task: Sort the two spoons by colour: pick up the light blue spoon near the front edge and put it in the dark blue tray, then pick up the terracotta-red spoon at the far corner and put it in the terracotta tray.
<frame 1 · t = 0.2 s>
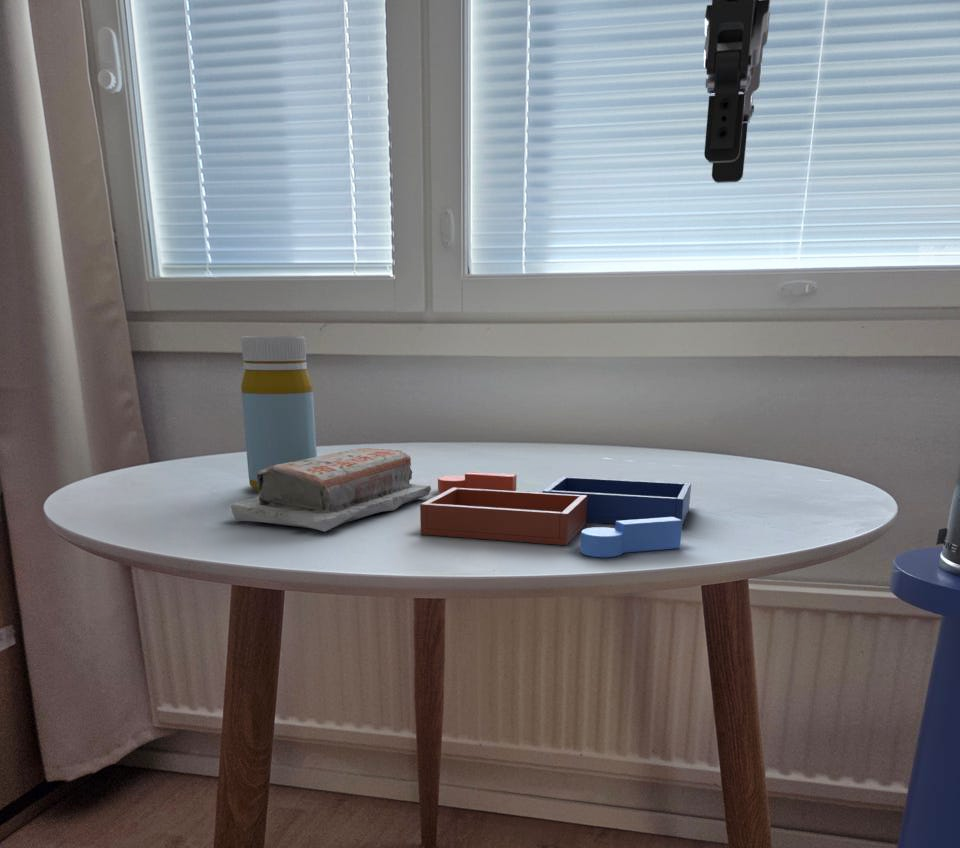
hand: (724, 172, 61), 26 cm above the table, tool pointing down, fingers open, 8 cm apart
packaged product: (337, 511, 81), on the table
bottle: (284, 490, 91), on the table
terracotta tray: (505, 529, 73), on the table
blue tray: (616, 514, 79), on the table
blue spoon: (629, 550, 67), on the table
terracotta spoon: (476, 495, 88), on the table
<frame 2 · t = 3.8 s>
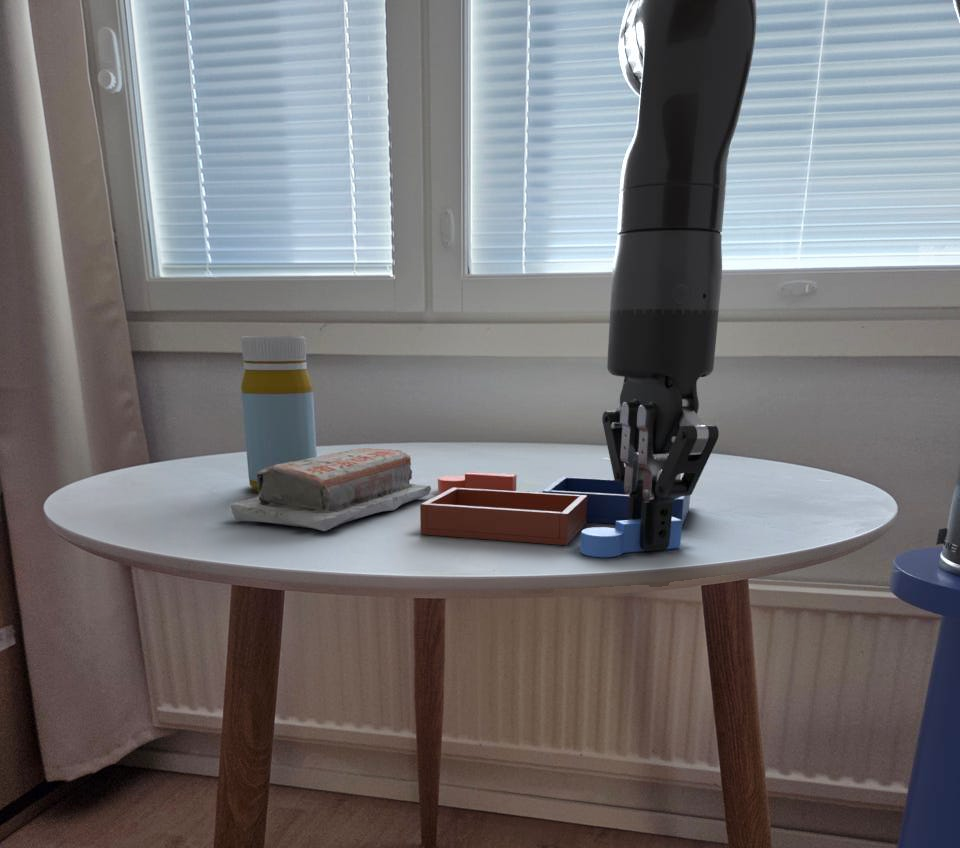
hand: (647, 545, 67), 0 cm above the table, tool pointing down, fingers closed on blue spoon, 1 cm apart
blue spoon: (629, 550, 67), on the table, touching gripper
everything else where it was.
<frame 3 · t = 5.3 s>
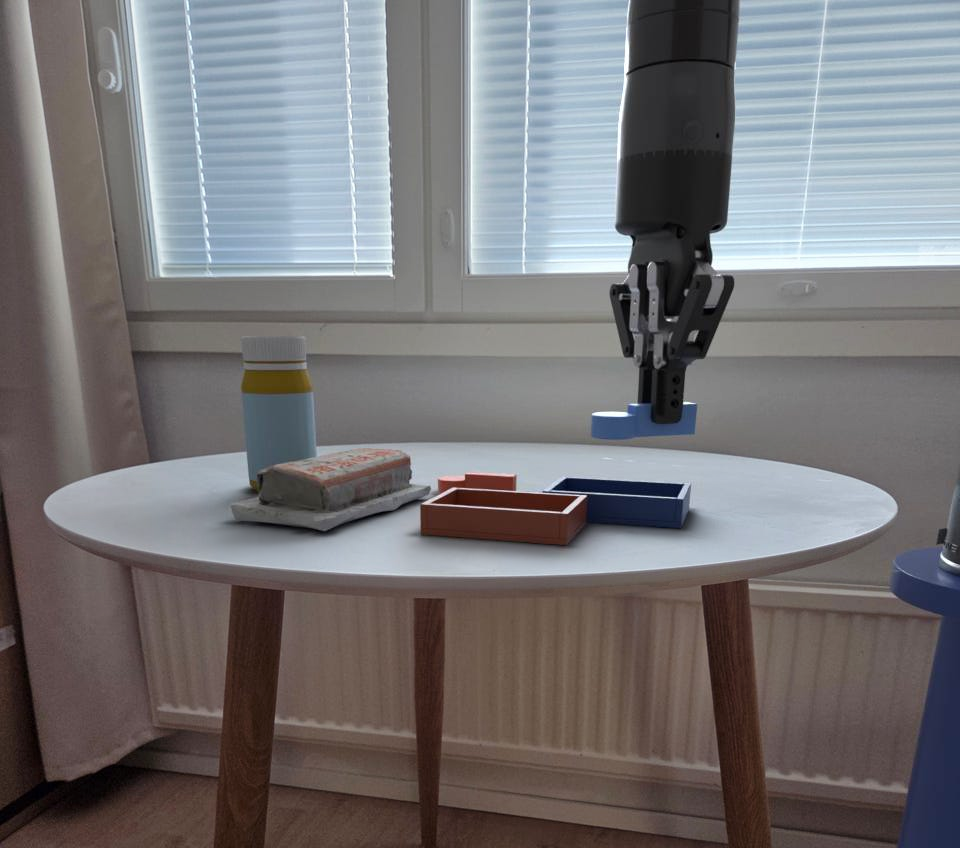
hand: (658, 421, 64), 10 cm above the table, tool pointing down, fingers closed on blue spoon, 1 cm apart
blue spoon: (642, 435, 64), point 9 cm above the table, touching gripper
everything else where it was.
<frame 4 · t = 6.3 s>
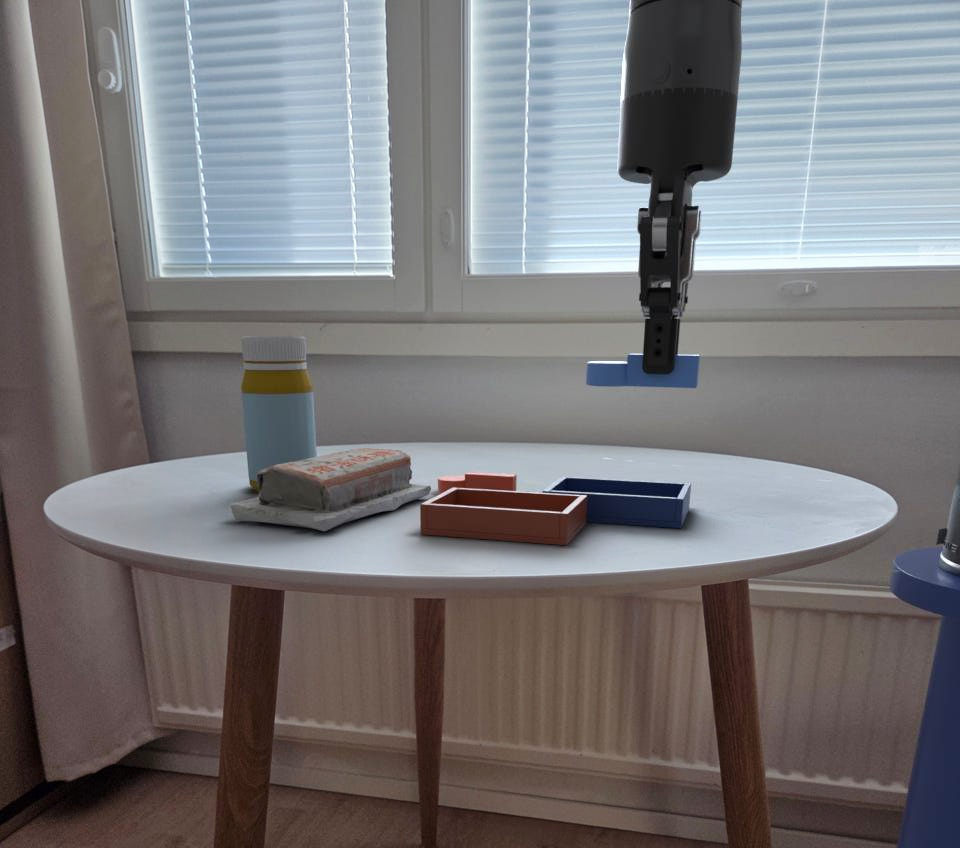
hand: (659, 372, 63), 13 cm above the table, tool pointing down, fingers closed on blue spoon, 1 cm apart
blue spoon: (640, 385, 64), point 12 cm above the table, touching gripper
everything else where it was.
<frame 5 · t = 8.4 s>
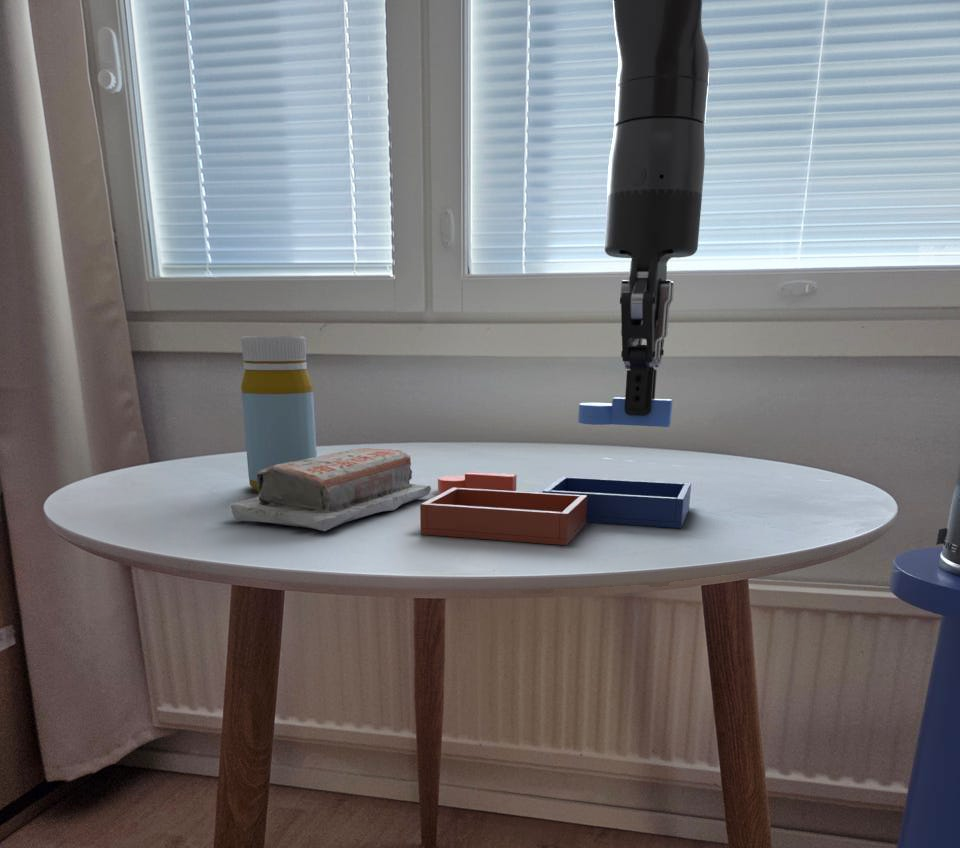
hand: (639, 413, 76), 9 cm above the table, tool pointing down, fingers closed on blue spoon, 1 cm apart
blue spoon: (623, 424, 76), point 8 cm above the table, touching gripper
everything else where it was.
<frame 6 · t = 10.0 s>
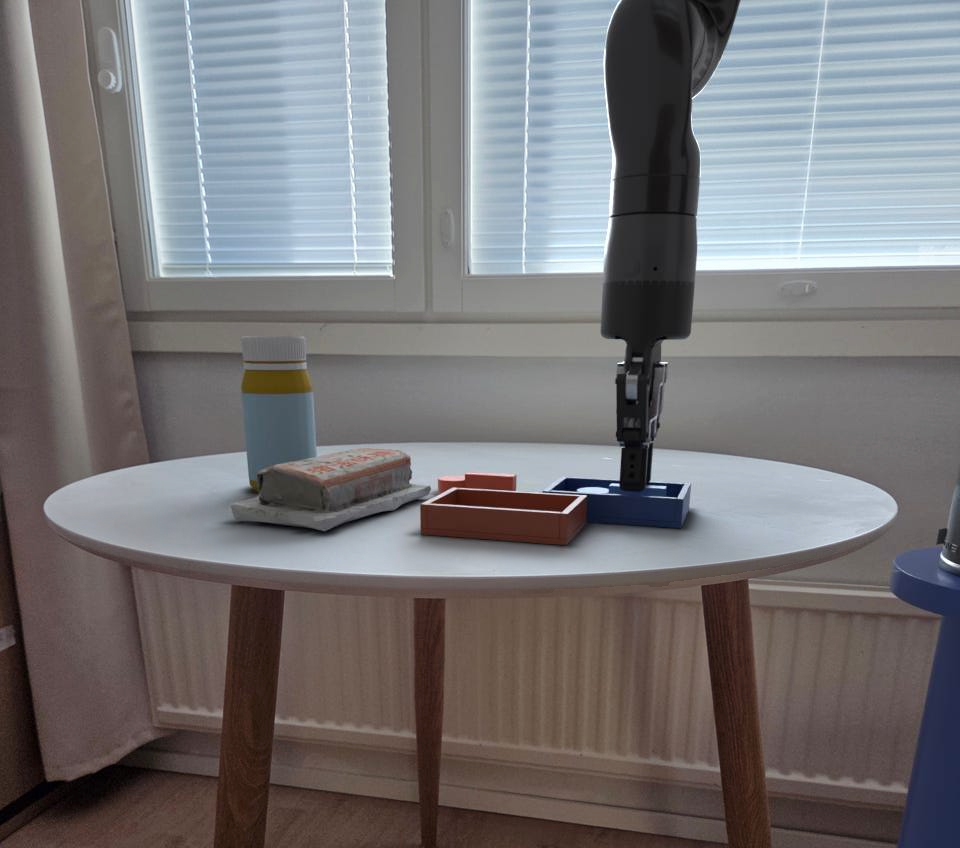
hand: (635, 486, 78), 3 cm above the table, tool pointing down, fingers open, 3 cm apart
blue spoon: (619, 509, 79), resting on blue tray
everything else where it was.
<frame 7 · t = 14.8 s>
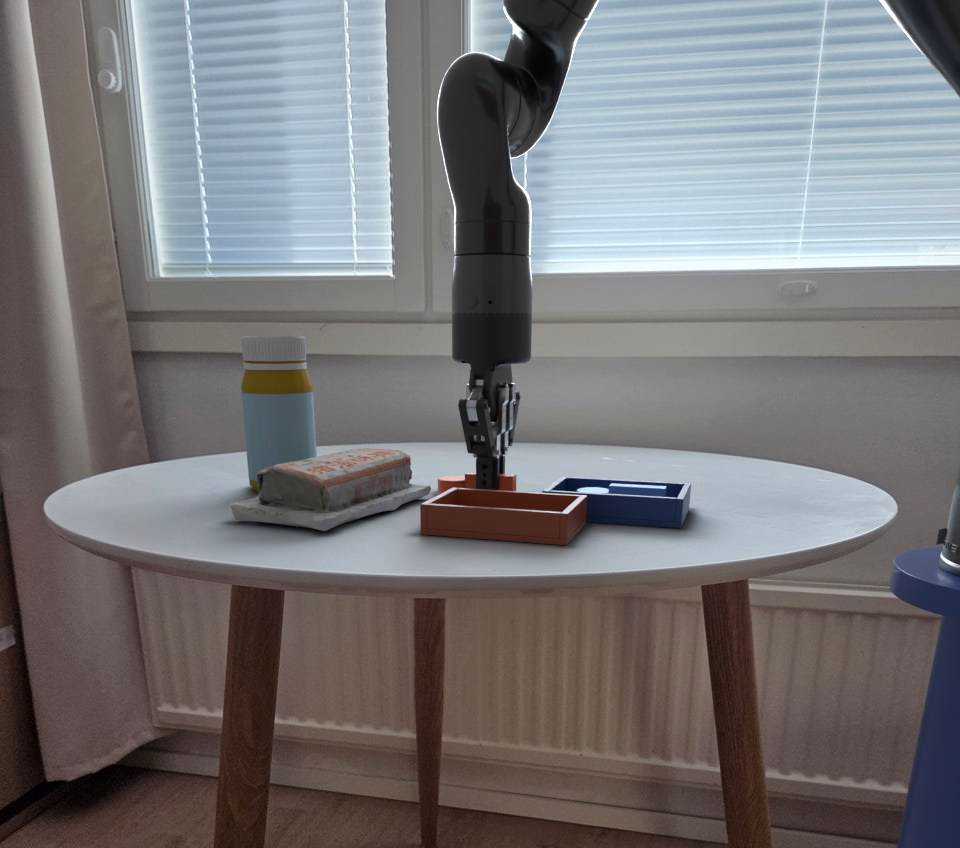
hand: (490, 493, 87), 0 cm above the table, tool pointing down, fingers closed on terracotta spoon, 1 cm apart
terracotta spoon: (476, 495, 88), on the table, touching gripper
everything else where it was.
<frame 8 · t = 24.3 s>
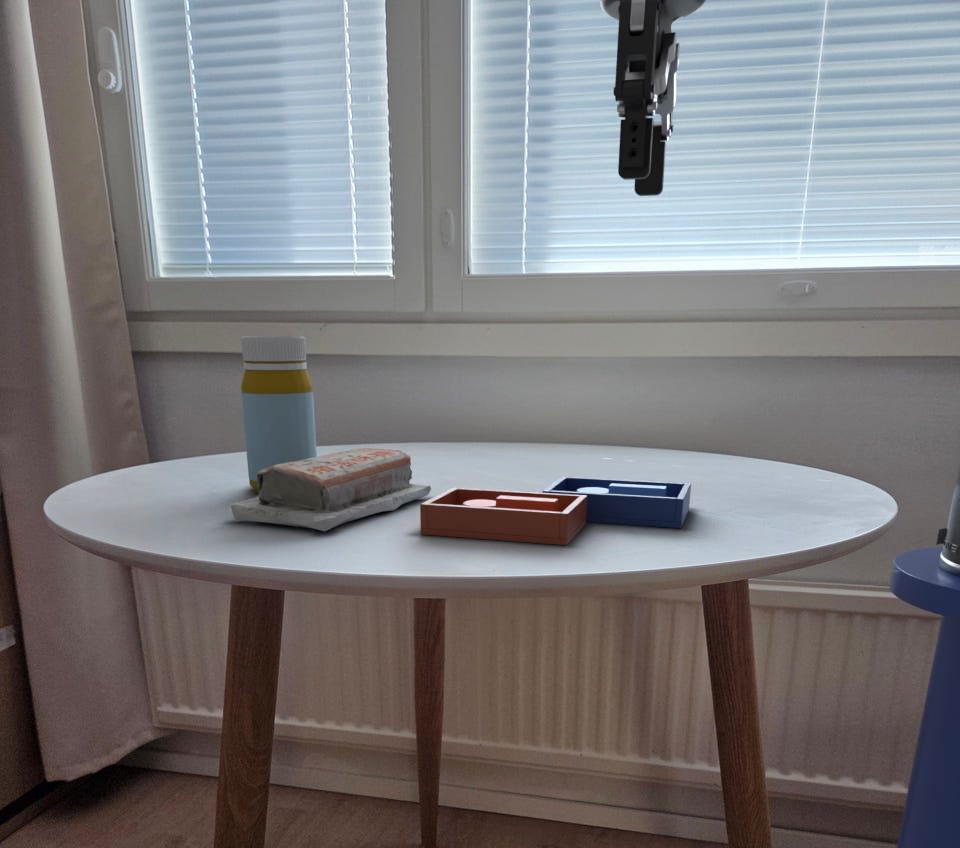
hand: (641, 187, 66), 26 cm above the table, tool pointing down, fingers open, 8 cm apart
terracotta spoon: (508, 523, 73), resting on terracotta tray
everything else where it was.
at the end: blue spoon inside the target area in the blue tray (0.2 cm from its centre), point 0.5 cm above the blue tray's base; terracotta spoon inside the target area in the terracotta tray (0.3 cm from its centre), point 0.5 cm above the terracotta tray's base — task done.
